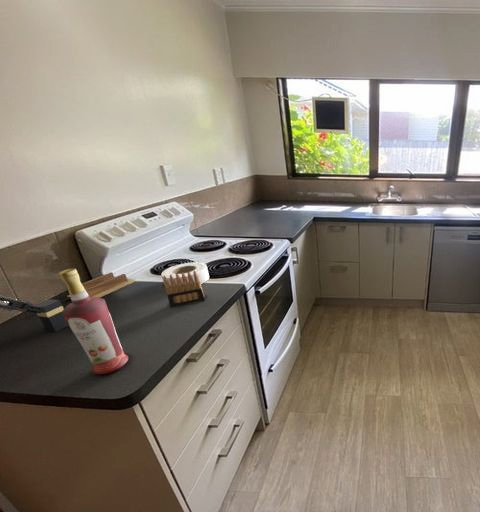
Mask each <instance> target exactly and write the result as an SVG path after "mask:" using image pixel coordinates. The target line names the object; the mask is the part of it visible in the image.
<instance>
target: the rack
mask: <svg viewBox="0 0 480 512" xmlns="http://www.w3.org/2000/svg"><path fill="white" fill-rule="evenodd" d="M132 283H135V279H130V278H128V277H127V275H126V273H122V274H119V275H117V276H115V275H114V273H113V272H111V271H110V272H108V273H105V274H103V275H101V276H98V277H95V278H92V279H90V280H87V281H85V282H83V283H82V282H81V284H82V285H83V287H84V289H85V290H86V292H87V293H88V295H89V297H97V298H102V297H105V296H106V295H109V294H111V293H113V292H115V291H118V290H120V289H122V288H124V287H126V286H128V285H130V284H132ZM66 298H69V300H71V297H70V294H69V295H67V296H66Z"/></svg>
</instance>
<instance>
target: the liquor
mask: <svg viewBox="0 0 480 512" xmlns="http://www.w3.org/2000/svg"><path fill="white" fill-rule="evenodd" d="M58 274H59V276H60V278H61V280H62V281H63V283H64V284H65V285H66V287H67V290H68V294H69V295H70V297H69V298H71V299H70V300H71V302H70V303H69V304H68V305H66V306H65V307H64V310H63V311H62V314H63V316H64V317H65V319H66V321H67V322H68V324H69V326H68V327H69V328H70V330H71V331H72V333H73V334H74V336H75V338H76V339H77V340H78V342H79V344H80V345H81V347H82V349H83V350H84V352H85V354H86V355H87V357H88V359H89V360H90V363H91V364H92V366H93V369H92V372H93V373H94V374H97V375H110V374H113V373H115V372H117V371H119V370H120V369H122V368H123V367H124V366H125V364H126V363H127V362H128V361H129V355H127V354H125V352H124V349H123V347H122V345H121V342H120V339H119V337H118V334H117V331H116V328H115V324H114V321H113V319H112V315H111V312H110V311H109V308H108V305H107V302H106V299H105V298H102V297H100V298H97V297H89V295H88V293H87V292H86V290H85V289H84V287H83V285H82V282H81V278H80V274H79V273H78V270H77V268H68V269H67V268H66V269H64V270H61V271H59V272H58Z"/></svg>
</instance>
